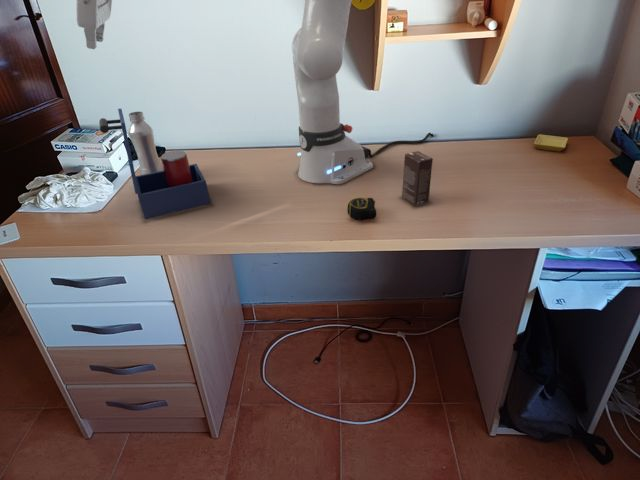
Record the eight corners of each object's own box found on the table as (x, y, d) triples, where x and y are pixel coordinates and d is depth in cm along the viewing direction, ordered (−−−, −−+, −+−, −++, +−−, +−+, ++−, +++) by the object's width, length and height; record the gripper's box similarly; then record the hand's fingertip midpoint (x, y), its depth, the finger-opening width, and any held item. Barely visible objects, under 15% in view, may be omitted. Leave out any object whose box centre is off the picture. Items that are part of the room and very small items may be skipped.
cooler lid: (121, 108, 109) (97, 110, 107) (124, 122, 99) (98, 125, 97) (134, 174, 118) (112, 177, 116) (139, 193, 108) (115, 197, 106)
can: (191, 191, 124) (181, 148, 117) (199, 199, 119) (189, 155, 112) (168, 197, 121) (157, 154, 114) (176, 206, 116) (164, 162, 110)
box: (429, 202, 113) (433, 158, 106) (414, 207, 111) (418, 162, 105) (415, 193, 117) (418, 150, 111) (401, 197, 116) (403, 153, 109)
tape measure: (376, 223, 106) (376, 209, 104) (347, 224, 106) (347, 210, 104) (374, 209, 111) (375, 195, 109) (347, 209, 112) (347, 196, 110)
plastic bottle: (159, 185, 130) (140, 117, 119) (138, 184, 131) (118, 117, 120) (169, 175, 135) (152, 109, 124) (149, 174, 136) (131, 109, 126)
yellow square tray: (563, 154, 133) (565, 147, 132) (532, 149, 137) (533, 143, 136) (566, 144, 140) (568, 137, 138) (536, 140, 143) (538, 134, 142)
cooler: (201, 187, 127) (196, 163, 123) (211, 205, 117) (205, 180, 113) (141, 201, 122) (133, 176, 118) (145, 221, 112) (137, 195, 108)
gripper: (102, -18, 88) (103, 55, 95) (116, -23, 105) (116, 40, 111) (65, -26, 86) (69, 50, 93) (86, -30, 103) (88, 35, 109)
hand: (95, 44), depth 102 cm, fingers open, 8 cm apart
